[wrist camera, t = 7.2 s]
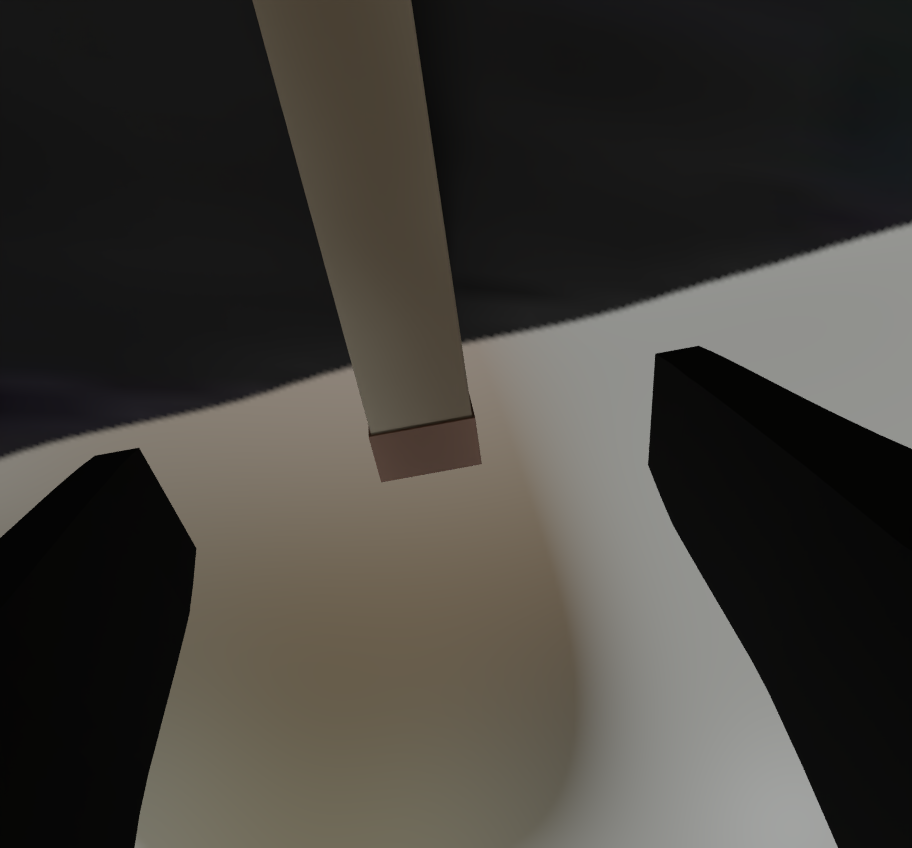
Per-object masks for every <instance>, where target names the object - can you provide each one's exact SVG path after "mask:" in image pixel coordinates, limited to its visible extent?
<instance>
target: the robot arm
mask: <svg viewBox="0 0 912 848" xmlns="http://www.w3.org/2000/svg"><path fill="white" fill-rule="evenodd" d="M649 445H650V446H649V460H648V466H649V468H650V471H651V473H652V476H653V478H654V481H655V483H656V486H657V488H658V491H659V493H660V496H661V498H662V501H663V503H664V505H665V508H666V510H667V512H668V514H669V517H670V519H671V521H672V524H673V526H674V527H675V529H676V531H677V533H678V535H679V536H680V538H681V540H682V542H683V543H684V545H685V547H686V549H687V550H688V552H689V554H690V556H691V557H692V559H693V561H694V562H695V564H696V566H697V568H698V569H699V571H700V573H701V574H702V576H703V578H704V579H705V581H706V583H707V585H708V586H709V588H710V590H711V592H712V593H713V595H714V597H715V598H716V600H717V602H718V604H719V605H720V607H721V609H722V610H723V612H724V614H725V615H726V617H727V619H728V621H729V622H730V624H731V626H732V627H733V629H734V631H735V633H736V634H737V636H738V638H739V639H740V641H741V643H742V645H743V646H744V648H745V650H746V651H747V653H748V655H749V656H750V658H751V660H752V662H753V663H754V666H755V667H756V669H757V671H758V673H759V675H760V677H761V679H762V681H763V683H764V684H765V686H766V688H767V690H768V692H769V694H770V696H771V698H772V701H773V703H774V705H775V707H776V709H777V711H778V714H779V716H780V718H781V720H782V722H783V724H784V727H785V729H786V731H787V733H788V735H789V737H790V740H791V742H792V744H793V746H794V748H795V750H796V753H797V755H798V757H799V759H800V761H801V764H802V766H803V768H804V770H805V773H806V775H807V777H808V780H809V782H810V784H811V786H812V789H813V791H814V793H815V796H816V798H817V800H818V802H819V805H820V807H821V810H822V812H823V814H824V816H825V819H826V821H827V823H828V826H829V828H830V830H831V833H832V835H833V837H834V839H835V842H836V844H837V846H838V848H912V449H911V448H908V447H906V446H904V445H901V444H899V443H897V442H895V441H892V440H890V439H888V438H886V437H883V436H881V435H879V434H876V433H875V432H872V431H870V430H868V429H866V428H864V427H862V426H859V425H858V424H855V423H853V422H851V421H849V420H847V419H845V418H843V417H841V416H839V415H837V414H835V413H832V412H831V411H828V410H826V409H824V408H822V407H820V406H818V405H816V404H814V403H812V402H810V401H808V400H806V399H804V398H803V397H801V396H799V395H797V394H794V393H792V392H791V391H789V390H787V389H785V388H783V387H781V386H779V385H777V384H775V383H773V382H771V381H769V380H767V379H765V378H764V377H762V376H760V375H758V374H755V373H754V372H752V371H750V370H748V369H746V368H744V367H742V366H740V365H738V364H736V363H734V362H732V361H730V360H728V359H726V358H724V357H722V356H720V355H718V354H716V353H714V352H712V351H709V350H707V349H705V348H702V347H700V346H696V347H690V348H685V349H679V350H674V351H668V352H663V353H657V354H656V355H655V368H654V383H653V399H652V415H651V430H650V444H649ZM195 557H196V547H195V546H194V544H193V542H192V540H191V538H190V537H189V535H188V533H187V531H186V529H185V528H184V526H183V524H182V522H181V521H180V519H179V517H178V515H177V514H176V512H175V510H174V508H173V507H172V505H171V503H170V501H169V500H168V498H167V496H166V494H165V493H164V491H163V489H162V487H161V486H160V484H159V482H158V480H157V479H156V477H155V475H154V473H153V472H152V470H151V468H150V466H149V464H148V463H147V461H146V459H145V458H144V456H143V454H142V452H141V450H140V449H139V448H135V449H130V450H124V451H119V452H113V453H108V454H102V455H97V456H94V457H93V458H91V459H90V460H89V461H88V462H86V463H85V464H83V465H82V466H81V467H80V468H78V469H77V470H76V471H75V472H74V473H72V474H71V475H70V476H69V477H68V478H66V480H64V481H63V482H62V483H61V484H60V485H58V486H57V487H56V488H55V489H54V490H53V491H52V492H50V493H49V494H48V495H47V496H46V497H45V498H44V499H43V500H42V501H41V502H39V503H38V504H37V505H36V506H35V507H34V508H33V509H32V510H31V511H29V513H27V514H26V515H25V516H24V517H23V518H22V519H21V520H20V521H18V523H16V524H15V525H14V526H13V527H12V528H11V529H10V530H9V531H7V532H6V533H5V534H4V535H3V536H2V537H1V538H0V848H134V846H135V840H136V834H137V826H138V821H139V815H140V810H141V805H142V800H143V796H144V791H145V787H146V782H147V777H148V773H149V769H150V765H151V761H152V758H153V754H154V750H155V746H156V742H157V739H158V734H159V731H160V727H161V723H162V719H163V715H164V711H165V708H166V704H167V700H168V697H169V693H170V689H171V685H172V681H173V677H174V674H175V670H176V666H177V662H178V658H179V653H180V650H181V646H182V642H183V638H184V634H185V629H186V626H187V621H188V617H189V612H190V604H191V596H192V589H193V579H194V568H195Z"/></svg>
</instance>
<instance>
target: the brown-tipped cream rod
mask: <svg viewBox="0 0 912 848" xmlns="http://www.w3.org/2000/svg"><path fill="white" fill-rule="evenodd" d="M253 4H254V8H255V11H256V15H257V19H258V22H259V26H260V30H261V33H262V37H263V41H264V44H265V48H266V52H267V55H268V59H269V63H270V66H271V70H272V74H273V77H274V81H275V85H276V88H277V92H278V96H279V99H280V103H281V107H282V110H283V114H284V118H285V121H286V125H287V128H288V132H289V136H290V139H291V143H292V147H293V150H294V154H295V158H296V161H297V165H298V169H299V172H300V176H301V180H302V183H303V187H304V191H305V194H306V198H307V202H308V205H309V209H310V213H311V216H312V220H313V224H314V227H315V231H316V235H317V238H318V242H319V246H320V249H321V253H322V257H323V260H324V264H325V268H326V271H327V275H328V278H329V282H330V286H331V289H332V293H333V297H334V300H335V304H336V308H337V311H338V315H339V319H340V322H341V326H342V330H343V333H344V337H345V341H346V344H347V348H348V352H349V355H350V359H351V363H352V366H353V370H354V373H355V377H356V381H357V385H358V388H359V392H360V396H361V399H362V403H363V407H364V410H365V414H366V418H367V421H368V425H369V440H370V443H371V447H372V450H373V454H374V457H375V461H376V465H377V469H378V472H379V475H380V479H381V482H385V481H391V480H396V479H402V478H407V477H413V476H418V475H424V474H429V473H435V472H440V471H446V470H451V469H457V468H462V467H468V466H473V465H479V464H482V463H481V456H480V449H479V442H478V435H477V428H476V421H475V415H474V412H473V407H472V403H471V400H470V395H469V391H468V385H467V378H466V371H465V364H464V358H463V351H462V344H461V337H460V330H459V323H458V316H457V310H456V303H455V296H454V289H453V282H452V275H451V269H450V262H449V255H448V248H447V241H446V234H445V228H444V221H443V214H442V207H441V200H440V193H439V187H438V180H437V173H436V166H435V159H434V153H433V146H432V139H431V132H430V125H429V118H428V112H427V105H426V98H425V91H424V84H423V77H422V71H421V64H420V57H419V50H418V43H417V36H416V30H415V23H414V16H413V9H412V2H411V0H253Z"/></svg>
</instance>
